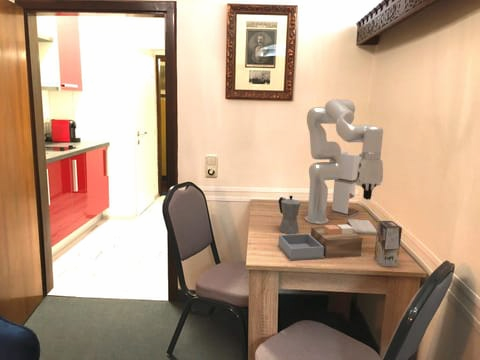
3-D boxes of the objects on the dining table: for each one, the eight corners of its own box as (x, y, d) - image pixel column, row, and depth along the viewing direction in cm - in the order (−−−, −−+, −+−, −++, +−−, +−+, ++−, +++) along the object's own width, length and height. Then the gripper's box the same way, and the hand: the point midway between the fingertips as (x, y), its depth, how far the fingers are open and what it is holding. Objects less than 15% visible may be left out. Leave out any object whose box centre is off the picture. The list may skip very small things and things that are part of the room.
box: (278, 245, 170) (278, 235, 169) (308, 244, 173) (308, 233, 172) (290, 260, 155) (291, 248, 154) (323, 258, 158) (324, 247, 157)
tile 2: (336, 230, 168) (337, 224, 168) (347, 229, 169) (347, 224, 169) (342, 234, 164) (342, 228, 163) (352, 233, 165) (353, 228, 164)
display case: (348, 217, 214) (354, 155, 207) (331, 213, 221) (336, 153, 214) (358, 213, 222) (364, 153, 215) (341, 209, 229) (346, 151, 222)
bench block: (310, 244, 173) (311, 227, 172) (342, 242, 177) (344, 225, 175) (325, 258, 158) (326, 239, 156) (360, 256, 161) (362, 237, 160)
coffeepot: (305, 233, 187) (307, 197, 183) (290, 236, 182) (292, 199, 178) (284, 224, 199) (286, 190, 196) (270, 227, 194) (272, 192, 190)
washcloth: (368, 224, 206) (369, 218, 205) (378, 235, 188) (378, 229, 187) (345, 223, 206) (346, 217, 206) (353, 234, 189) (353, 228, 188)
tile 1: (323, 230, 167) (324, 225, 167) (334, 230, 168) (335, 224, 168) (328, 234, 162) (329, 229, 162) (339, 234, 163) (340, 228, 163)
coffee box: (398, 266, 152) (403, 227, 149) (382, 266, 152) (387, 227, 148) (388, 257, 161) (392, 220, 158) (373, 257, 161) (377, 220, 157)
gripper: (359, 157, 156) (355, 201, 160) (392, 157, 160) (387, 200, 163) (350, 155, 164) (346, 197, 167) (381, 155, 167) (377, 196, 171)
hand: (367, 198), depth 165 cm, fingers closed
